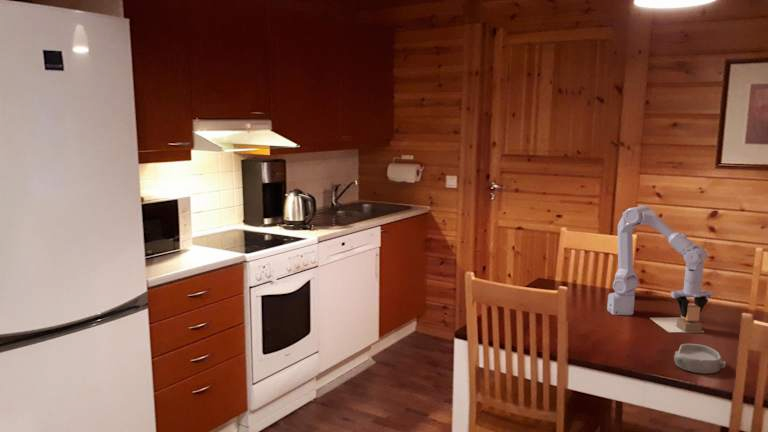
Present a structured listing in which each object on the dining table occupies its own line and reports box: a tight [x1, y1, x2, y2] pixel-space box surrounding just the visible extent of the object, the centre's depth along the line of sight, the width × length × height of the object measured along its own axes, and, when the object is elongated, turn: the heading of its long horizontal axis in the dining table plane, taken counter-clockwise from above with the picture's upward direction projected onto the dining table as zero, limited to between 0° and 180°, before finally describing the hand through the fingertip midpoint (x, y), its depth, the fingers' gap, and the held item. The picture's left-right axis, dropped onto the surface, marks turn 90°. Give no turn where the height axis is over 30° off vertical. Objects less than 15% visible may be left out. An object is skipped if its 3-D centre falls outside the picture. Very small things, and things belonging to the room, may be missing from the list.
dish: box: [673, 343, 727, 374], centre depth 185 cm, size 14×14×5 cm
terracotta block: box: [680, 302, 701, 322], centre depth 213 cm, size 4×4×5 cm
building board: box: [649, 316, 705, 334], centre depth 218 cm, size 13×16×4 cm
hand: (690, 316), depth 214 cm, fingers closed on terracotta block, 4 cm apart
